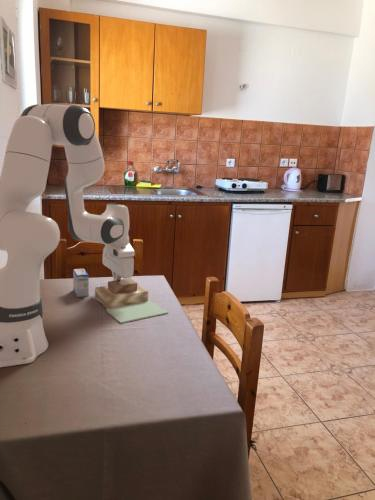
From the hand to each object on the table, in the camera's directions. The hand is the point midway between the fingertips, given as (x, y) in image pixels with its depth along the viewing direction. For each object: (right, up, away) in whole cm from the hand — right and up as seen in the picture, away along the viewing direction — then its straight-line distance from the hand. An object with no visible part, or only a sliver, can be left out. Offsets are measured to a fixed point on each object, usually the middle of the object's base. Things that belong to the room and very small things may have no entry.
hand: (116, 282), depth 156 cm
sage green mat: (+9, -9, -12) cm, 18 cm away
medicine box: (-14, -4, +3) cm, 15 cm away
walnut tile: (+3, -2, -3) cm, 5 cm away
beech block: (+2, -6, -2) cm, 7 cm away
